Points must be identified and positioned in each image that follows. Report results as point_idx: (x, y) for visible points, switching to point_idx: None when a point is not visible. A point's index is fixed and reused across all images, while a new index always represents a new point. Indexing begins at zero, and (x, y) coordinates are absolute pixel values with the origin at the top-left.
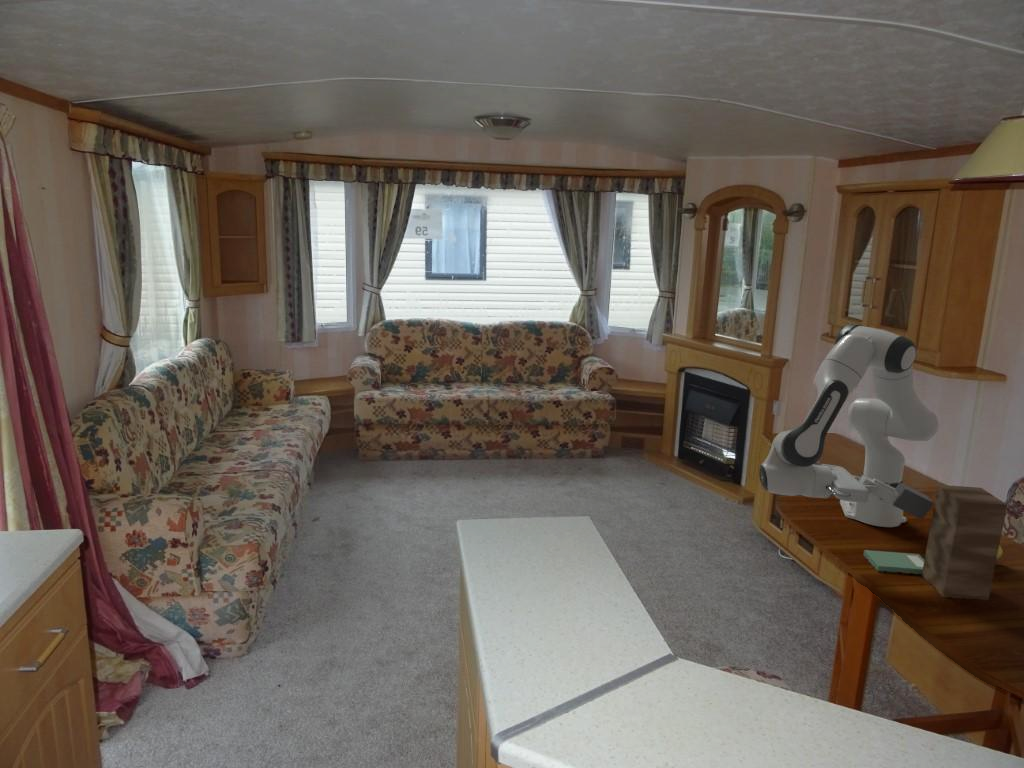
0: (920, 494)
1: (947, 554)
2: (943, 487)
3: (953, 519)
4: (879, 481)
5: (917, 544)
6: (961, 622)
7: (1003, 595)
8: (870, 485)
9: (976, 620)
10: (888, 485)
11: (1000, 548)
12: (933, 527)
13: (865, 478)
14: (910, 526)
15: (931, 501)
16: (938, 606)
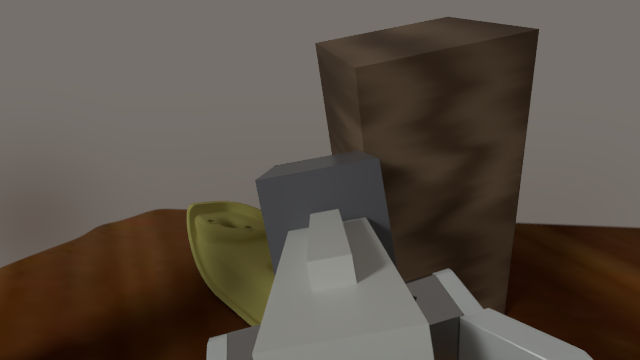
0: (319, 160)
1: (497, 228)
2: (384, 59)
3: (504, 119)
4: (340, 241)
5: (162, 348)
6: (632, 293)
7: None
8: (469, 313)
9: (581, 269)
10: (320, 222)
11: (235, 203)
12: (392, 220)
13: (402, 326)
14: (34, 355)
15: (353, 151)
16: (583, 331)
